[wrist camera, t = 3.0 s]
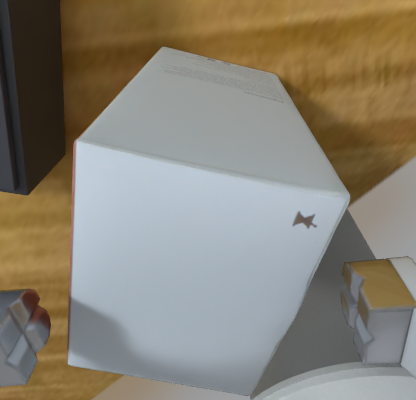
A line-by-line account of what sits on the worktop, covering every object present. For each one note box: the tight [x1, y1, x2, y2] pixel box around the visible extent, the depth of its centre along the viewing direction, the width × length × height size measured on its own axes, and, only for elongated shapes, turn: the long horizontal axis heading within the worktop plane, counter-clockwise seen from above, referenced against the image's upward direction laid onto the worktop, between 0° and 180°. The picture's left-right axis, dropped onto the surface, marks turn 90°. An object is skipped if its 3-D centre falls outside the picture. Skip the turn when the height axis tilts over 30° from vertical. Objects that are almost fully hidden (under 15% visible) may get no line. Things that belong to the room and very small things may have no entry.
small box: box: [67, 47, 350, 396], centre depth 15 cm, size 8×6×13 cm
